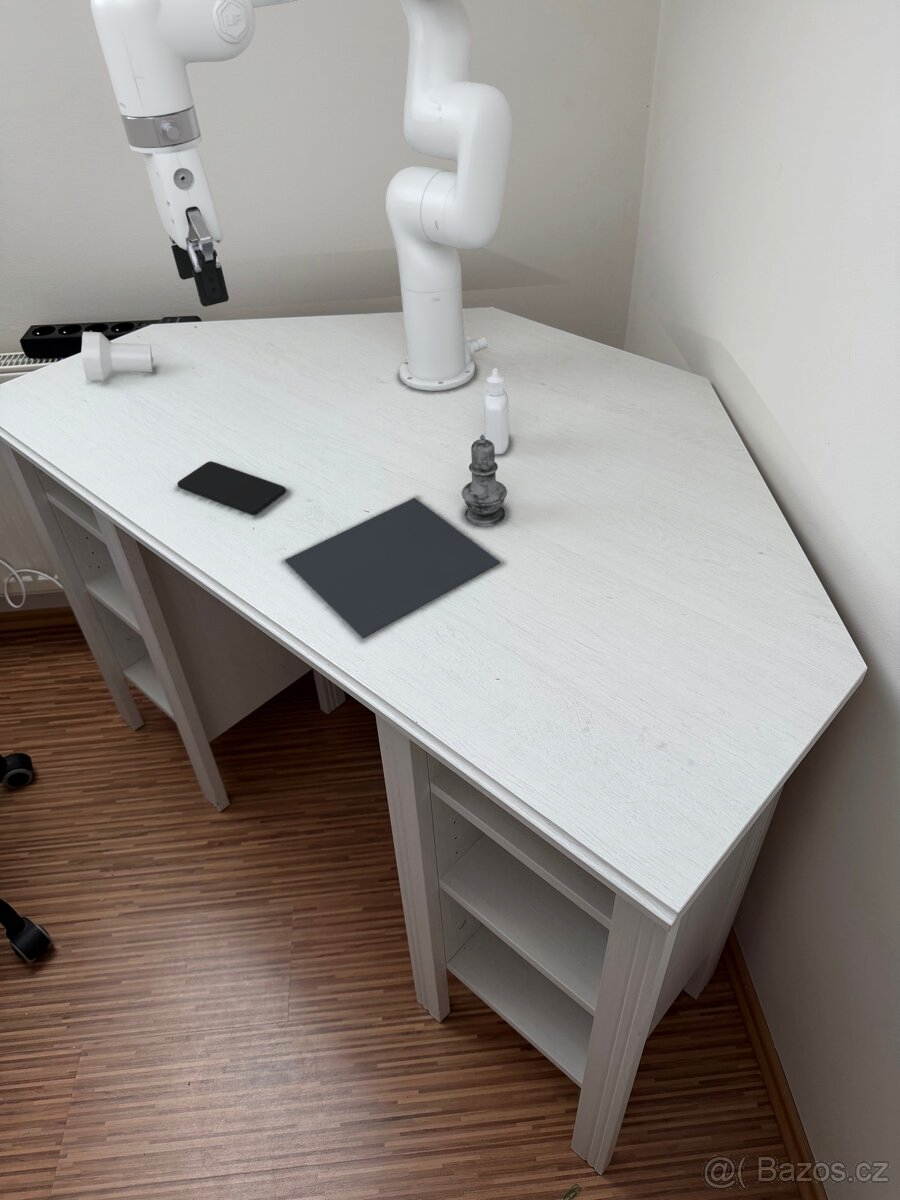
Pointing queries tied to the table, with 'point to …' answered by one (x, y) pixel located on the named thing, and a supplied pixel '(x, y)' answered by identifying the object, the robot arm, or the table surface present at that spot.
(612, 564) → the table surface
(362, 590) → the mat
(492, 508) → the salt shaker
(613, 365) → the table surface
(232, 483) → the smartphone
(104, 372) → the spotlight
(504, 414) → the eye dropper bottle
